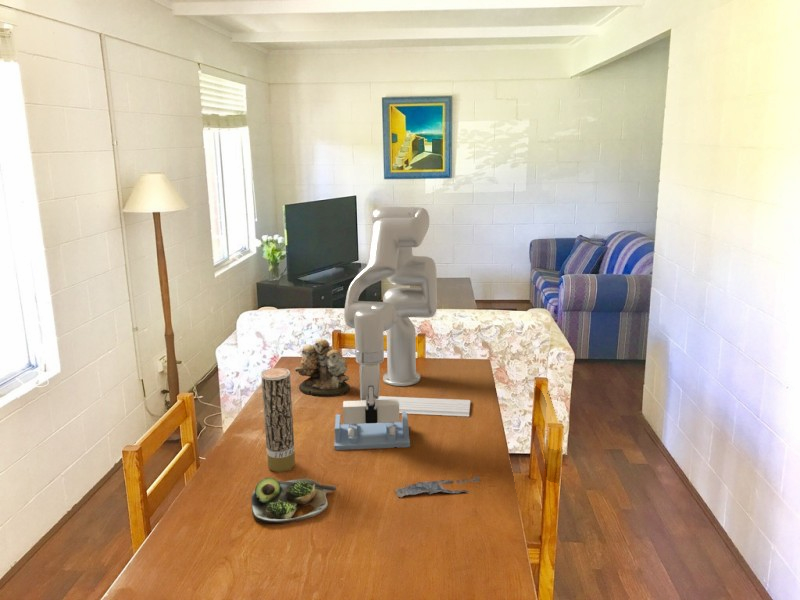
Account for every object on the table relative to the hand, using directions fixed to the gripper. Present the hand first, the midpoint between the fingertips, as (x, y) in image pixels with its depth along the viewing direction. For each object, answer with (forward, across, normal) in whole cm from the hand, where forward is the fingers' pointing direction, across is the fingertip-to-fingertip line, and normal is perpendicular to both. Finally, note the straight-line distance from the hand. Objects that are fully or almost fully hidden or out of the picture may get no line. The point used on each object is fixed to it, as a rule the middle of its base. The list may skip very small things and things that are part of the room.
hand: (371, 418), depth 179 cm
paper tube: (+6, +14, -23) cm, 28 cm away
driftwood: (+7, +28, +15) cm, 32 cm away
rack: (+6, 0, 0) cm, 6 cm away
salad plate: (+6, +31, -20) cm, 37 cm away
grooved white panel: (+6, -18, +14) cm, 24 cm away
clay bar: (0, 0, 0) cm, 0 cm away
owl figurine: (+6, -36, -15) cm, 40 cm away
